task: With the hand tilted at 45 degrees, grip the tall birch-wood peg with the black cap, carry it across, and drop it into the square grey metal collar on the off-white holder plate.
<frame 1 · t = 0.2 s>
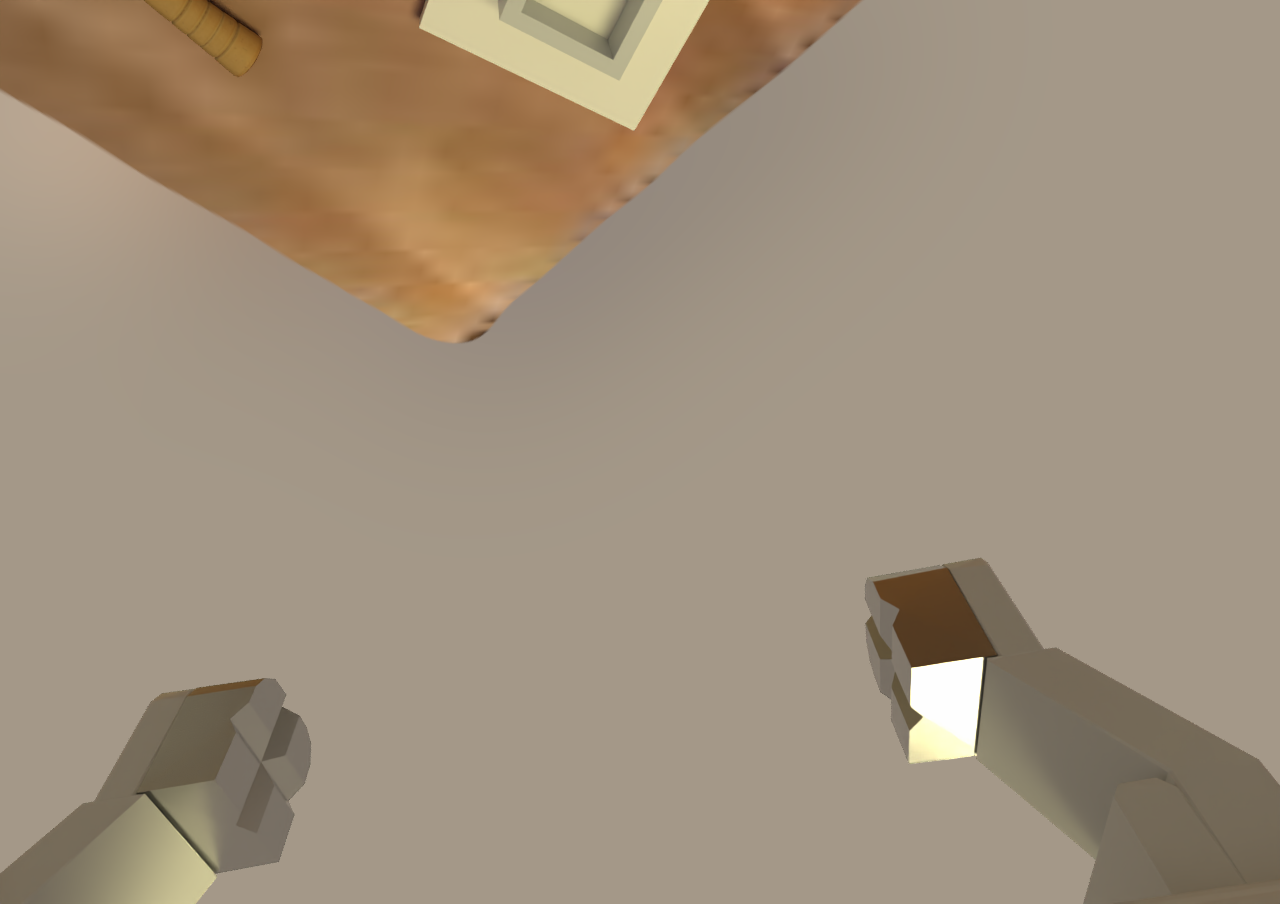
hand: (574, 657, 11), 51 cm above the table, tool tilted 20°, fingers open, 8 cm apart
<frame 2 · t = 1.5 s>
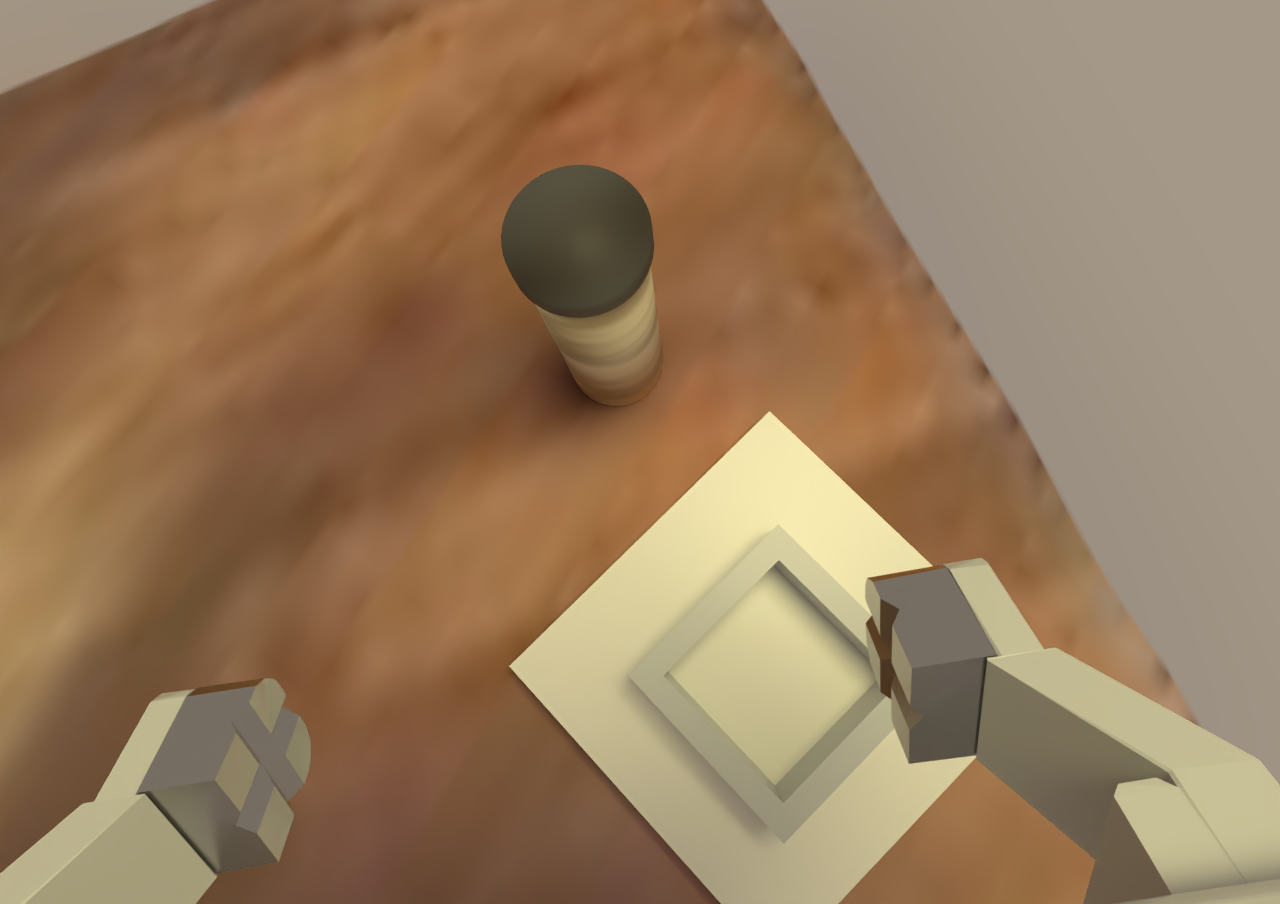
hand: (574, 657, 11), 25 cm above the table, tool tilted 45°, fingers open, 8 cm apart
peg: (617, 361, 38), on the table
holder: (770, 669, 35), on the table
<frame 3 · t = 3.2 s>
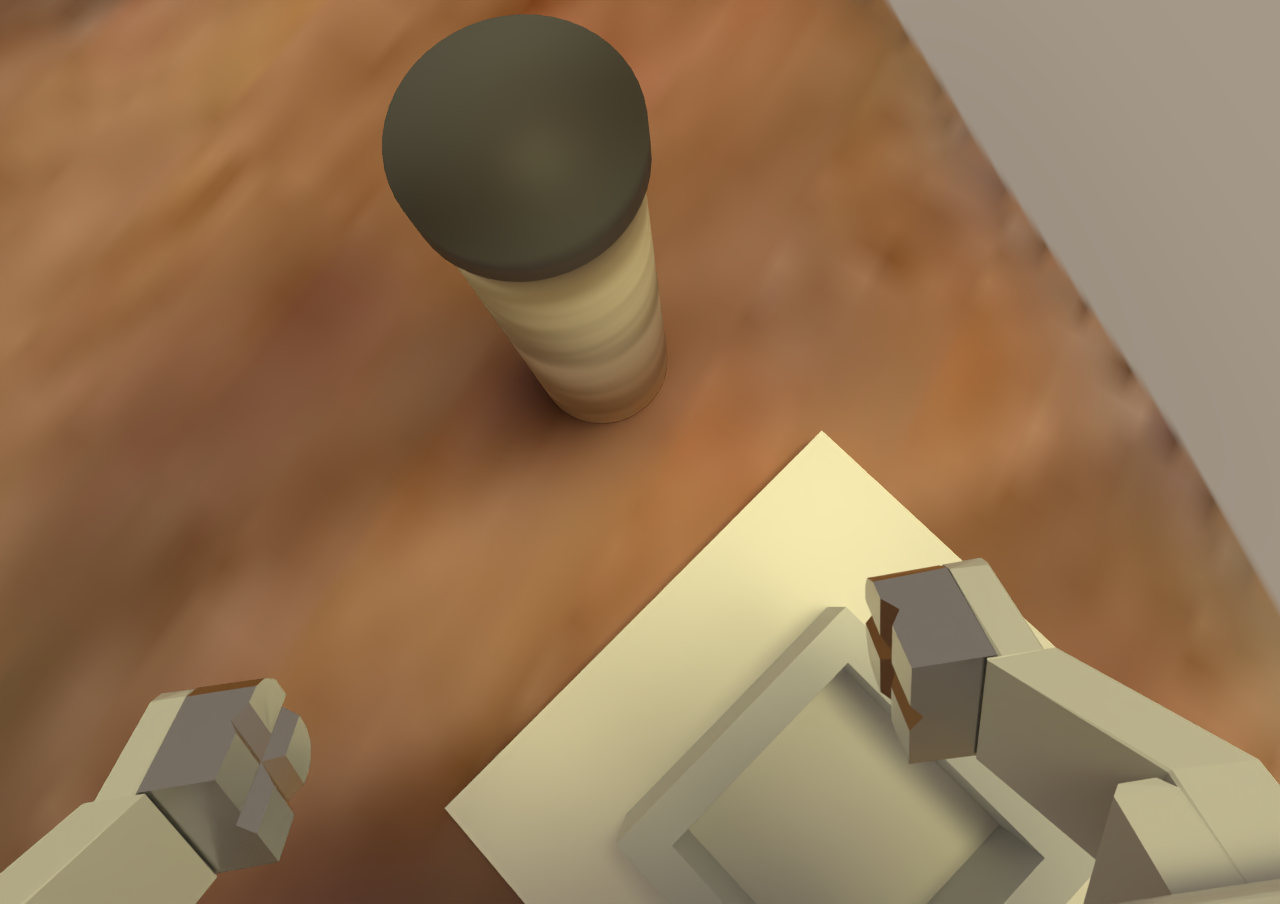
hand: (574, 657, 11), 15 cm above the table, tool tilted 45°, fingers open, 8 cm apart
peg: (603, 360, 27), on the table
holder: (826, 806, 24), on the table
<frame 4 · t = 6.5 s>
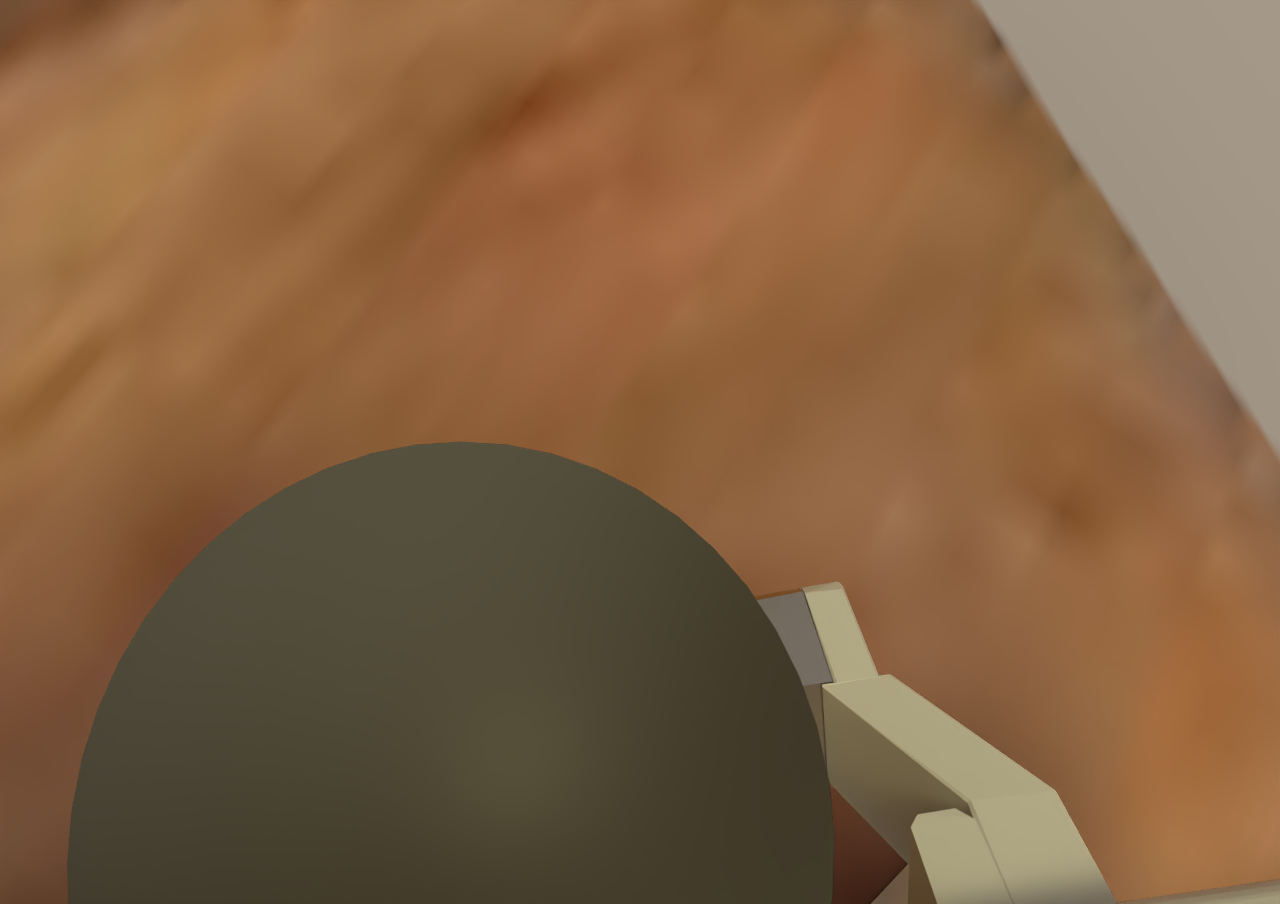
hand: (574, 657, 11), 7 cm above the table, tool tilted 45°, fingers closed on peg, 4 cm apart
peg: (630, 666, 18), on the table, touching gripper
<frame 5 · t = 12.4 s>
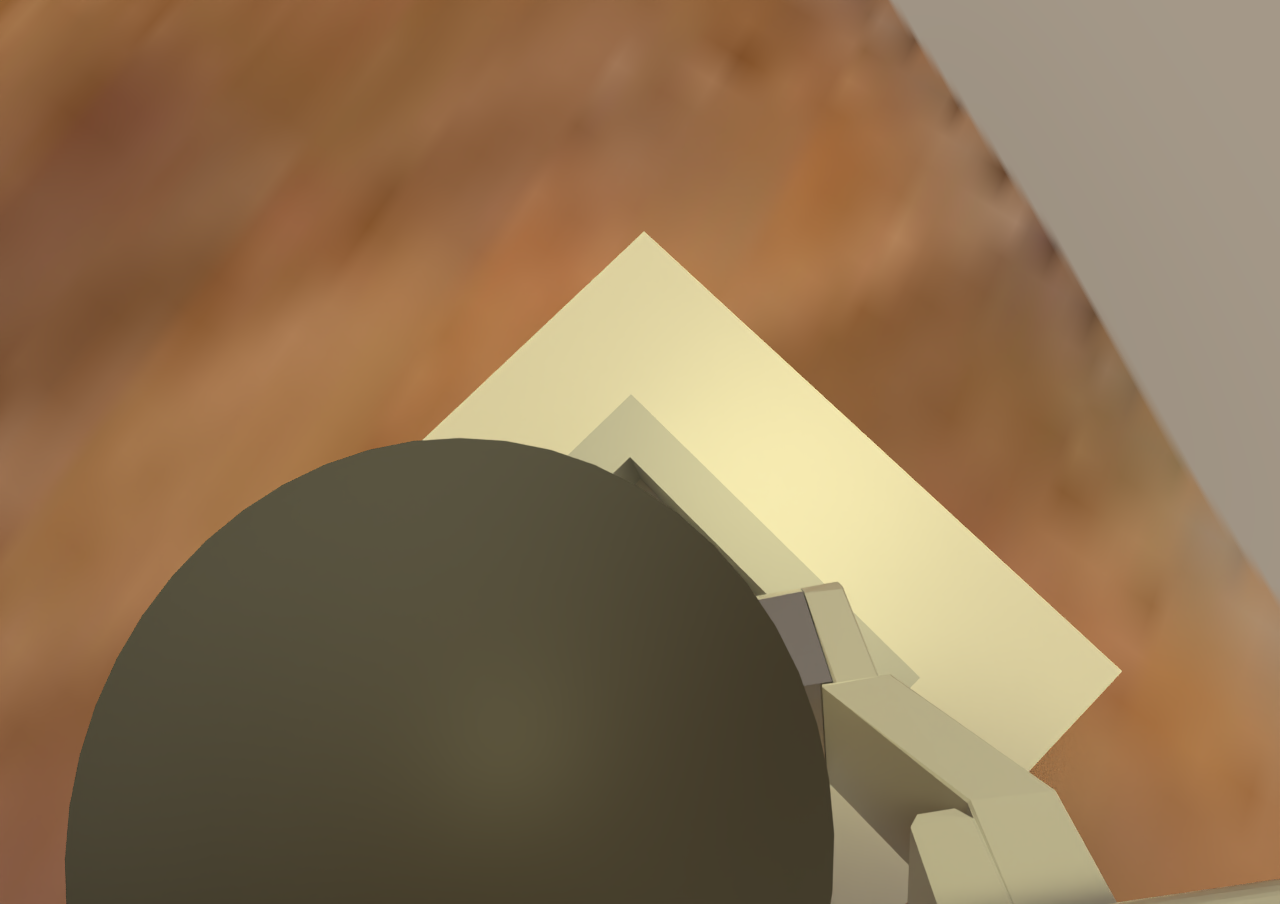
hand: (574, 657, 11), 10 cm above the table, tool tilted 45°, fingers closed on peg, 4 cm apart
peg: (629, 664, 18), point 3 cm above the table, touching gripper
holder: (642, 657, 21), on the table
when the fingers open (10 cm above the table, at t = 12.7 s): peg drops 1 cm, resting on holder.
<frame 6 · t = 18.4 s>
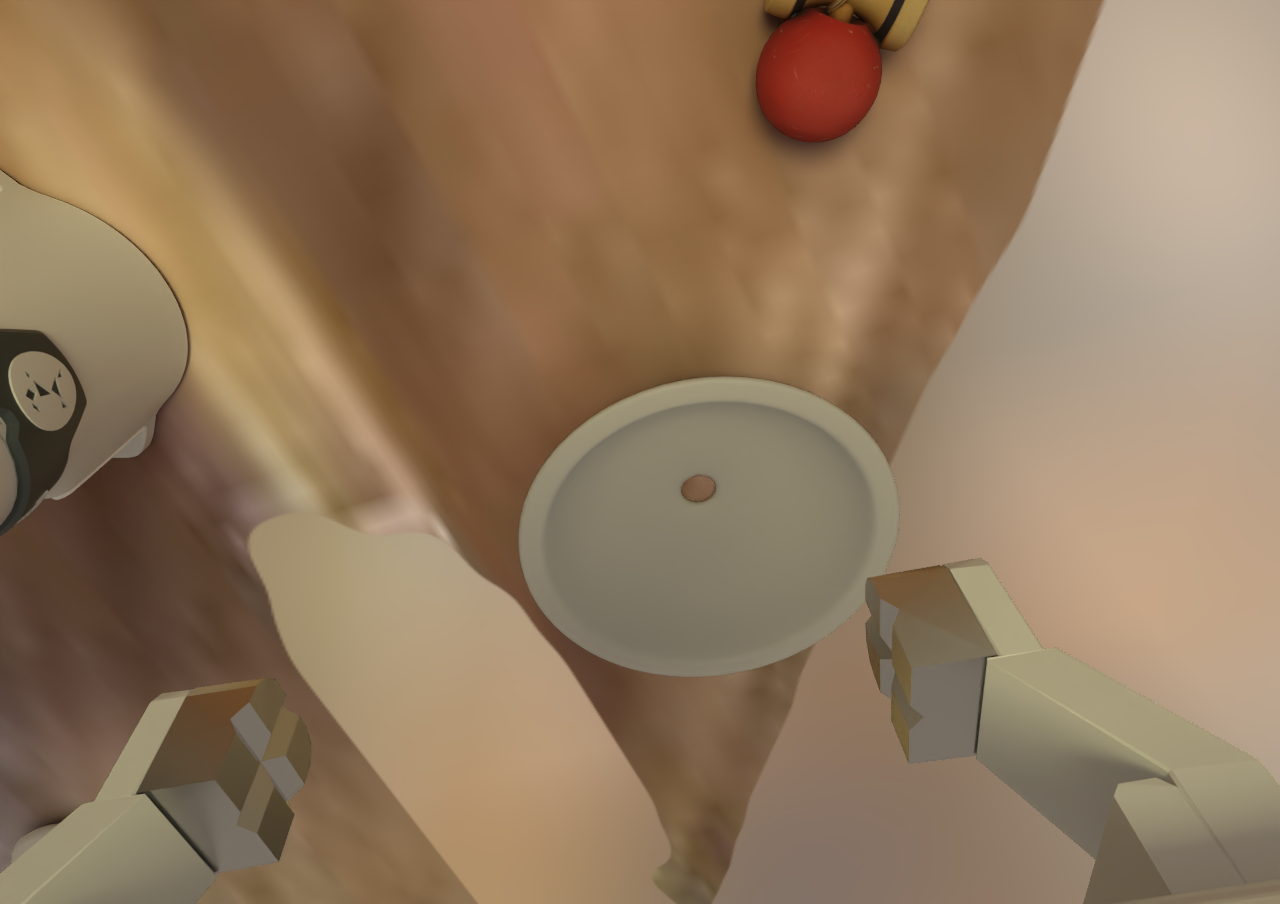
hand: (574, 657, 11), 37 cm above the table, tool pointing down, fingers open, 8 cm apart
soup bowl: (697, 485, 56), on the table
flower in vase: (101, 841, 74), on the table
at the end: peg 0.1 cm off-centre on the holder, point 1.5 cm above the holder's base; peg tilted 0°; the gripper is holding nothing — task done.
